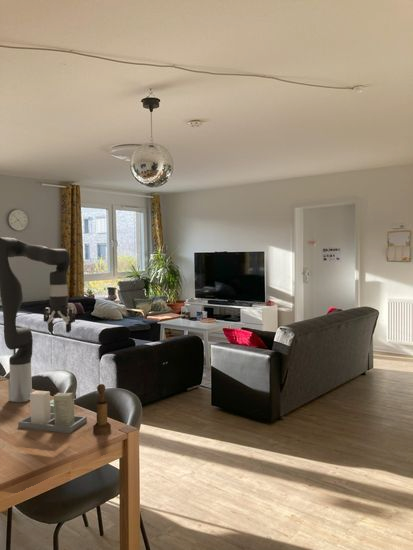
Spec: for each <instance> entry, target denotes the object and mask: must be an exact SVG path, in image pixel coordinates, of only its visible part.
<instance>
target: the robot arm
mask: <svg viewBox="0 0 413 550" xmlns="http://www.w3.org/2000/svg"><path fill="white" fill-rule="evenodd" d="M17 257H25V258H27V259H29V260H31V261H36V262H40V263H44V264H46V265H50V266H56V267H55V270H52V271H50V273H49V292H48V294H49V307H45V308H43V322H45V323H47V331H49V333H52V332H54V323H53V322H54V321H55V320H56V319H62V320H63V321H64V322H65V333H67V334H68V333H71V331H72V324H73V323H75V322H76V311H75V310H76V309H75V308H68V307H69V306H68V305H69V298H68V295H69V294H68V291H69V290H68V285H67V284H68V281H67V274H68V271H69V267H70V263H71V255H70V252H69V251H68V250H67V249H65V248H50V247H47V246H44V245H41V244H40V245H38V244H32V243H27V242H24V241H22V240H19V239H17V238H14V237H7V236H5V237H4V236H3V237H2V236H0V300H1V306H2V307H1V308H2V317H3V337H4V343H5V346H6V348H7V349H9V350H11V351H12V350H13V351H14V350H17V351H16V352H15V353H14V354H13V355H11V356H10V357H9V361H8V363H9V379H8V380H7V389H8V401H10V402H11V403H12V402H13V403H24V402H25V403H26V402H30V393H32V392H33V383H32V380H33V379H32V356H33V344H34V343H33V341H34V340H33V334H32V331H31V329H30V328H29V327H27V326H21V327H17V321H16V320H17V315H18V312H19V310H20V308H21V305H22V303H23V299H24V296H23V289H22V283H21V281H20V280H19V278H18V277H17V276H16V274H15V273H14V271H13V270H12V268H11V266H10V262H9V261H10V260H9V258H17Z"/></svg>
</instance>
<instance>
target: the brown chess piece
mask: <svg viewBox="0 0 413 550" xmlns="http://www.w3.org/2000/svg"><path fill="white" fill-rule="evenodd" d="M96 389H97V392H98V394H99V395H98V401H96V404H95V405H96V406H95V407H96V422H95V424H94V425H93V427H92V430H93V431H92V432H93V434H95V435H98V436H99V435H100V436H101V435H102V436H104V435H106V434H110V433H111V432H112V429H111V428H112V424H111V423H110V422H108V401H105V395H104V393H105V391H106V386H105V384H103V383H99V384H98V385H97V387H96Z"/></svg>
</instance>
